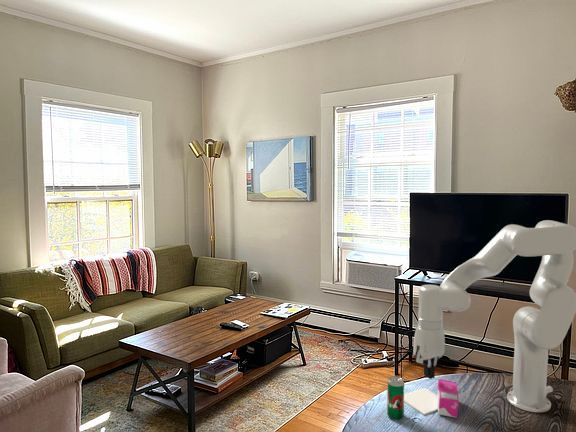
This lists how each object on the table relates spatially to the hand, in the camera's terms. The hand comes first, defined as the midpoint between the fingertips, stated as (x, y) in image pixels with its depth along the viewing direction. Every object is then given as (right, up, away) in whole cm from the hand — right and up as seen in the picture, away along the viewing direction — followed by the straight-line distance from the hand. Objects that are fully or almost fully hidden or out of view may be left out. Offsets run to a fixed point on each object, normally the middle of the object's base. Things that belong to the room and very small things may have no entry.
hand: (429, 376), depth 146 cm
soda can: (-13, -10, -8) cm, 18 cm away
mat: (-2, -8, 0) cm, 8 cm away
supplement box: (+6, -4, +1) cm, 8 cm away
